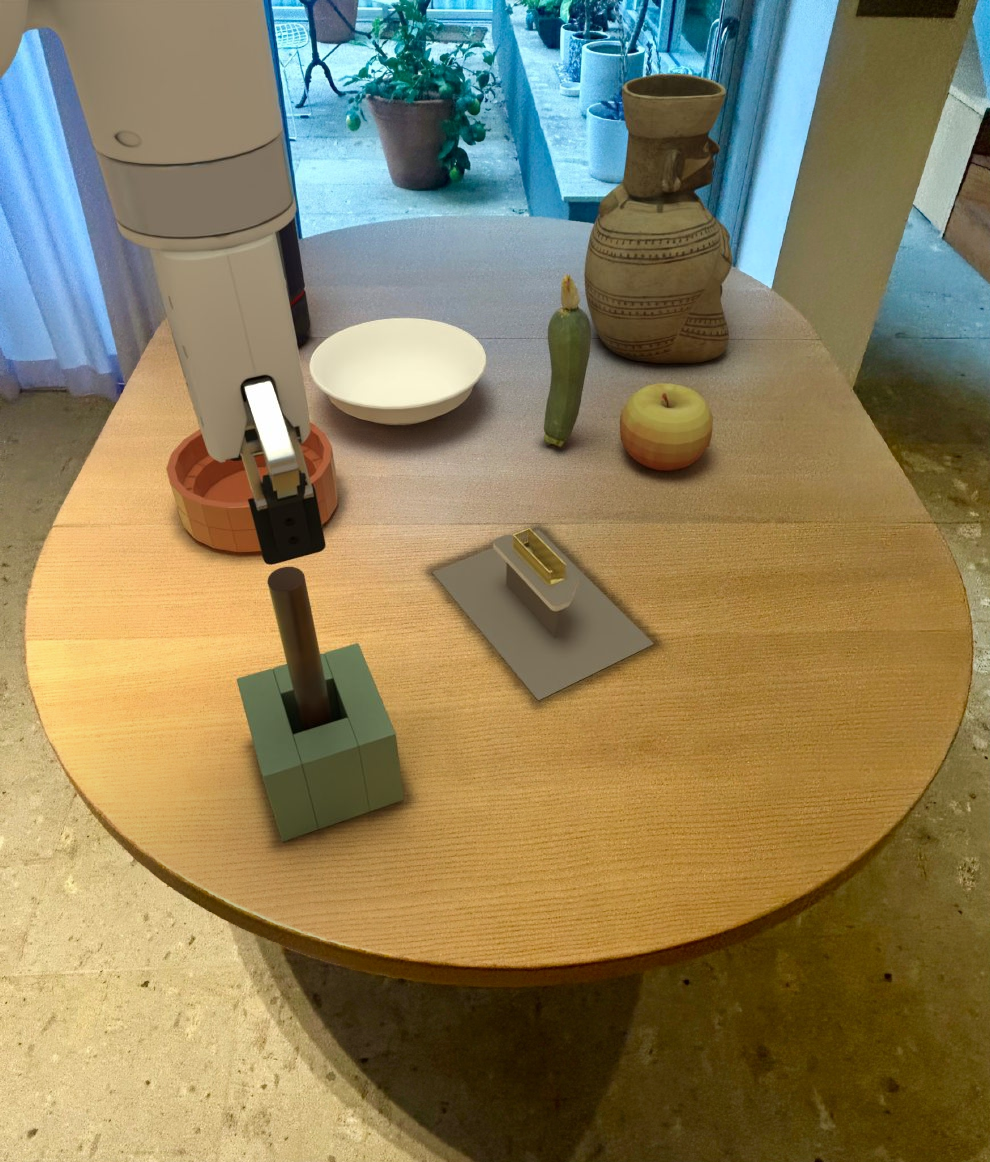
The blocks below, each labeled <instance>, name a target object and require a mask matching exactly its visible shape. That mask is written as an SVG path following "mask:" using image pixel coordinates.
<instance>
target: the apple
mask: <svg viewBox="0 0 990 1162" xmlns="http://www.w3.org/2000/svg"><path fill="white" fill-rule="evenodd" d="M707 403H708V402H707V401H706V399H704V398H703V396H701V394H699V393H698V392H697V391H695V390H694V389H692V388H690V387H687V386H684V385H681V384H676V383H670V382H668V383H667V382H666V383H665V382H664V383H653V384H649V385H646V386H644V387H642V388H640V389H639V390H637V391H636V392H634V393H633V394H632V395H631V396H630V397H629V398H628V400H627V401H626V403H625V404H624V407H623V408H622V409H621V412H620V417H619V436H620V441H621V443H622V444H623V447H624V448H625V450H626V451H627V452H628V454H629V455H630V457H631V458H632V459H633V460H634V461H636V462H638V463H639V464H641V465H643V466H644V467H646V468H649V469H653V470H656V471H675V470H681V469H684V468H686V467H688V466H691V465H692V464H694V463H696V462H697V461H698V460H699V458H701V456H702V455H703V454H704V453H705V451H706V450H707V449H708V448H709V447H710V443H711V441H712V437H713V426H714V417H713V413H712V411H711V408H710V406H709V405H708V404H707Z"/></svg>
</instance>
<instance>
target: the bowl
mask: <svg viewBox="0 0 990 1162" xmlns="http://www.w3.org/2000/svg"><path fill="white" fill-rule="evenodd" d="M487 365H488V364H487V354H486V352H485V349H484V347H483V345H482V344H481V343H480V342H479V341H478V339H477V338H476V337H474V336H473V335H471V334H470V333H469V332H467V331H465V330H464V329H461V328H459V327H457V326H454V325H451V324H449V323H446V322H442V321H437V320H432V319H426V318H414V317H394V318H393V317H391V318H384V319H376V320H371V321H365V322H362V323H359V324H358V323H357V324H354V325H352V326H349V327H346V328H344V329H342V330H340V331H337V332H335V333H334V334H332V335H330V336H329V337H327V338H325V340H324V341H322V342H321V343H320V344H318V346H317V347H316V349H315V350H314V352H313V353H312V355H311V357H310V361H309V365H308V368H309V376H310V377H311V380H312V381H313V383H314V384H315V385H316V386H317V387H318V389H320V391H322V392H324V393H325V394H326V395H327V397H328V399H329V401H330V402H331V403H332V404H333V405H334V406H335V407H336V408H337V409H339V410H340V411H342V412H343V413H345V414H347V415H349V416H351V417H354V418H357V419H359V420H364V421H368V422H372V423H376V424H381V425H387V426H388V425H389V426H407V425H415V424H419V423H424V422H427V421H429V420H432V419H435V418H437V417H440V416H442V415H445V414H447V413H449V412H451V411H452V410H454V409H456V408H458V407H459V406H460V405H461V404H462V403H464V402H465V401H466V400H467V399H468V398H469V396H470V395H471V393H472V391H473V388H474V386H475V385H476V383H478V381H479V380H480V379H481V378H482V376H483V375H484V373H485V370H486V368H487Z"/></svg>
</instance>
